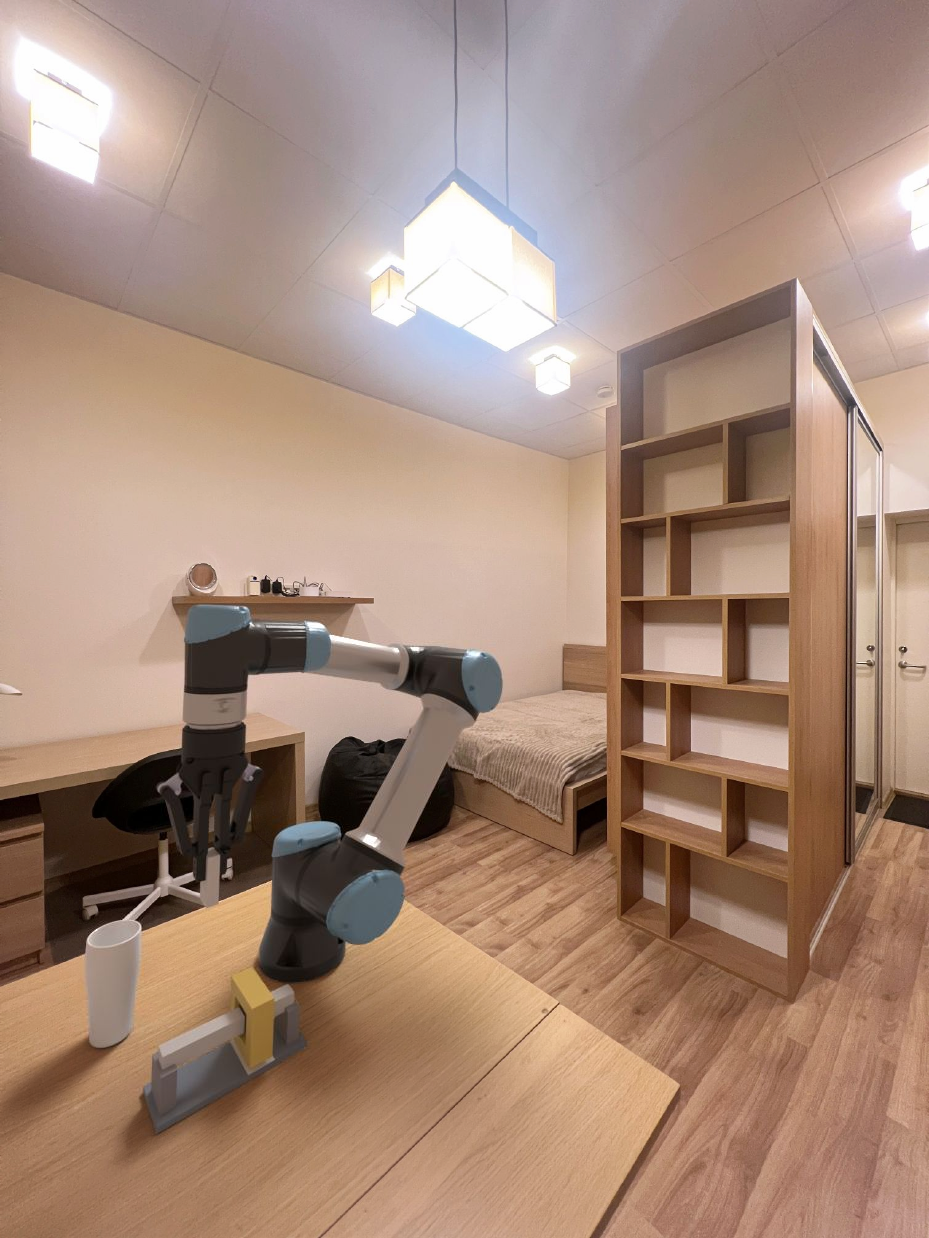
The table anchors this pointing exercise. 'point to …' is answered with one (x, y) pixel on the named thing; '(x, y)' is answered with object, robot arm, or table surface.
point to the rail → (215, 1061)
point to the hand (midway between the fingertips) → (209, 901)
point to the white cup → (112, 980)
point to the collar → (253, 1016)
